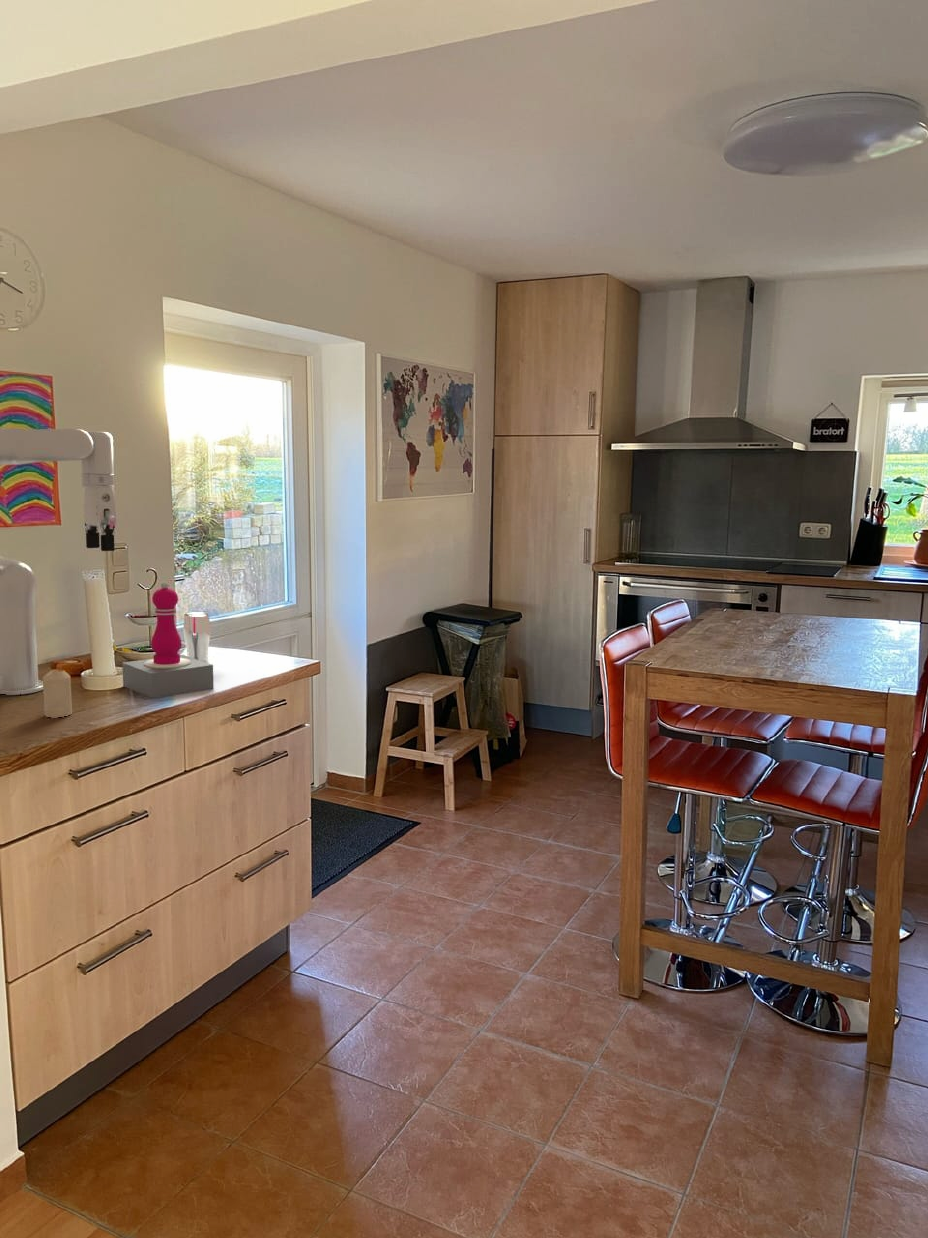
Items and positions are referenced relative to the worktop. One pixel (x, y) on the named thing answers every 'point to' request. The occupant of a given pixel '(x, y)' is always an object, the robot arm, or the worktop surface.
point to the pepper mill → (165, 627)
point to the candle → (57, 694)
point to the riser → (167, 677)
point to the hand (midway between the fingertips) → (100, 549)
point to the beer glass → (197, 635)
